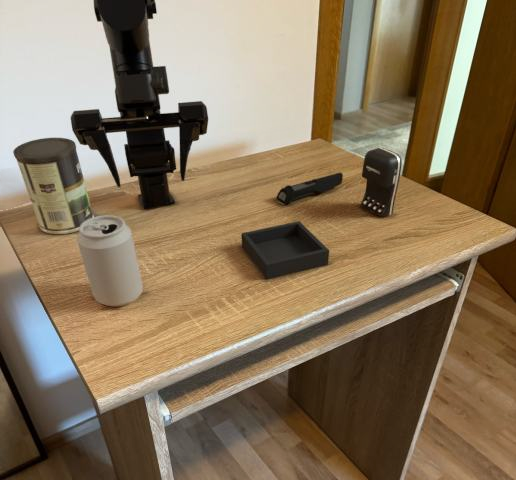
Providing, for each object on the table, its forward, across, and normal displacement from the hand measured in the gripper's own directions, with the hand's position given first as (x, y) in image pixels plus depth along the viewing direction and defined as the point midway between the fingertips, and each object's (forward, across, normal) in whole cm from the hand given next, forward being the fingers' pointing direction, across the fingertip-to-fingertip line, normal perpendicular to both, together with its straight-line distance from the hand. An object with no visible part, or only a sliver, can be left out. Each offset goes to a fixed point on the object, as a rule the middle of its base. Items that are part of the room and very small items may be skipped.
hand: (151, 183), depth 70 cm
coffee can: (-2, -17, +26) cm, 31 cm away
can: (+15, -8, +5) cm, 18 cm away
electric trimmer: (-2, +31, +26) cm, 41 cm away
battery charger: (+4, +41, +18) cm, 45 cm away
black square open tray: (+12, +20, +9) cm, 25 cm away
